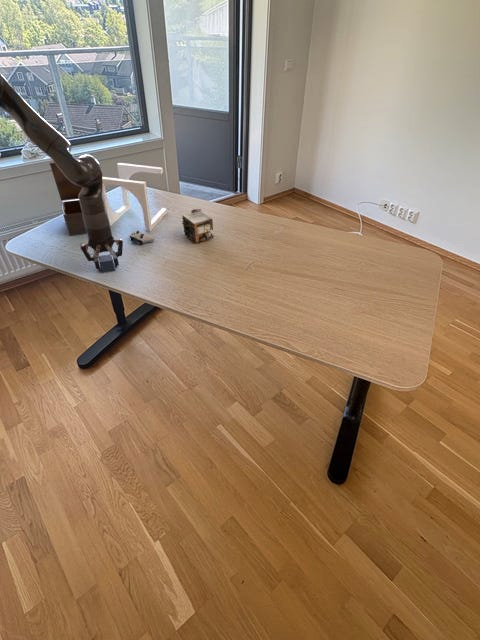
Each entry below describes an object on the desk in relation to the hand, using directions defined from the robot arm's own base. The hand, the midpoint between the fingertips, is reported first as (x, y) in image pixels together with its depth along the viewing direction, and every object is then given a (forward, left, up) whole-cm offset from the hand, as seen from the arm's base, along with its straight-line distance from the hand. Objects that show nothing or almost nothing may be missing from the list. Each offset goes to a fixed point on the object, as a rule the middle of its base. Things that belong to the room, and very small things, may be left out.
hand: (107, 267), depth 123 cm
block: (0, 0, 0) cm, 0 cm away
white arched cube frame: (+18, +37, -1) cm, 41 cm away
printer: (+38, +10, -1) cm, 39 cm away
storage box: (-5, +37, 0) cm, 37 cm away
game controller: (+15, +17, -1) cm, 23 cm away
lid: (-5, +43, +16) cm, 46 cm away
